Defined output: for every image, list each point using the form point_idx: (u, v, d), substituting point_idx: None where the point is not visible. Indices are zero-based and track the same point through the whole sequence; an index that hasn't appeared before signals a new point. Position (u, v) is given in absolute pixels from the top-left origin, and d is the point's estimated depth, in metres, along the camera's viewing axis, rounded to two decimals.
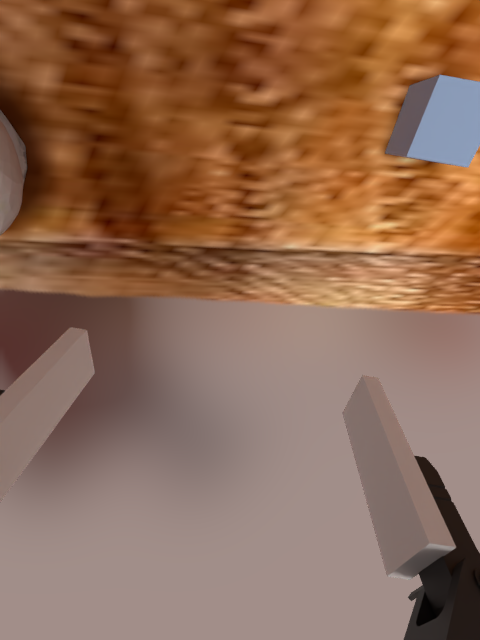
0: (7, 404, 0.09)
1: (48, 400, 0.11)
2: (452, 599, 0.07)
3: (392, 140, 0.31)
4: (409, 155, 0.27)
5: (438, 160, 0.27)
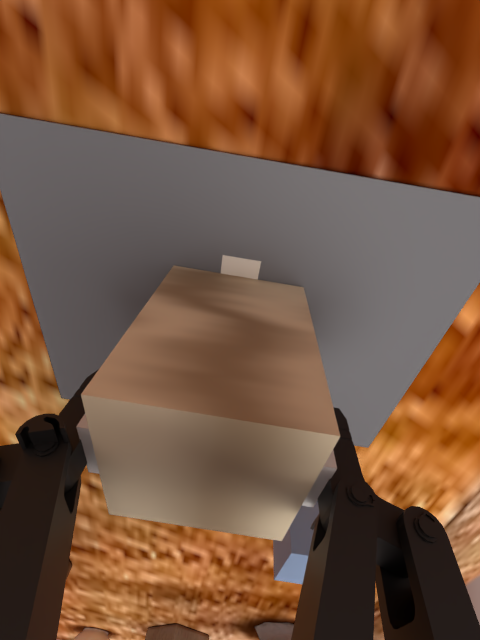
0: None
1: None
2: (331, 518, 0.08)
3: None
4: None
5: None
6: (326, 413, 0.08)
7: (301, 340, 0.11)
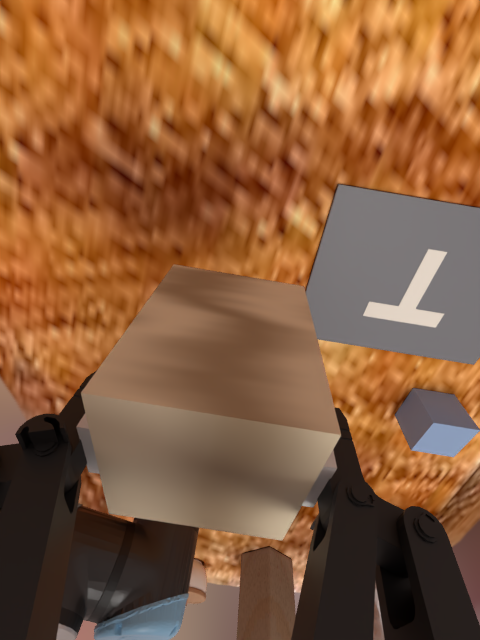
0: None
1: None
2: (332, 518, 0.08)
3: None
4: (453, 455, 0.39)
5: (465, 443, 0.38)
6: (327, 412, 0.08)
7: (301, 339, 0.11)
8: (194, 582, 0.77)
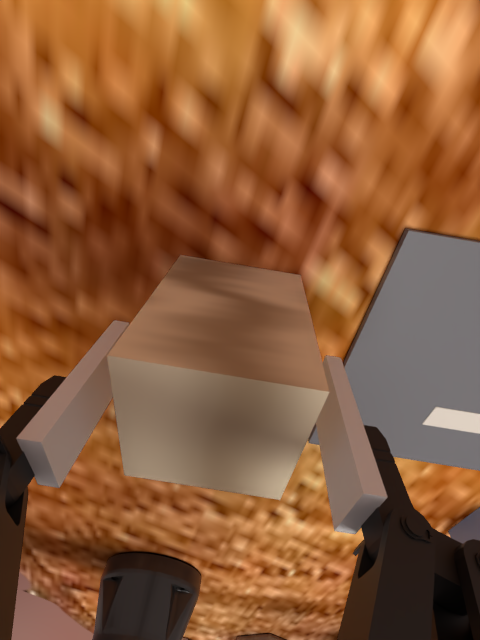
0: (72, 387, 0.10)
1: (101, 386, 0.12)
2: (383, 547, 0.08)
3: None
4: None
5: None
6: (318, 374, 0.09)
7: (297, 318, 0.12)
8: None
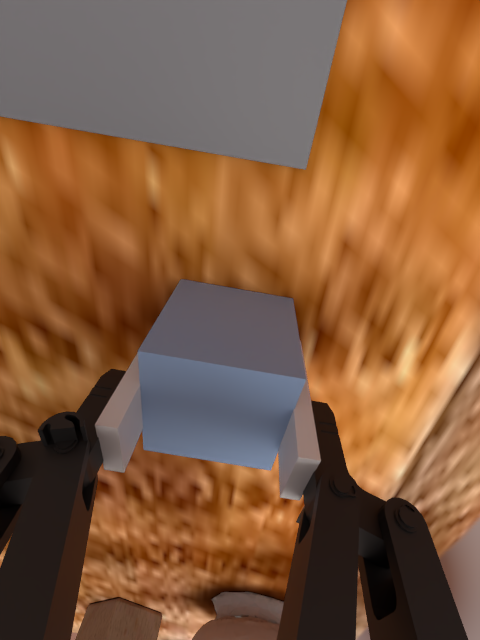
0: (134, 379, 0.11)
1: None
2: (315, 511, 0.08)
3: None
4: (268, 467, 0.13)
5: (282, 429, 0.12)
6: None
7: None
8: None
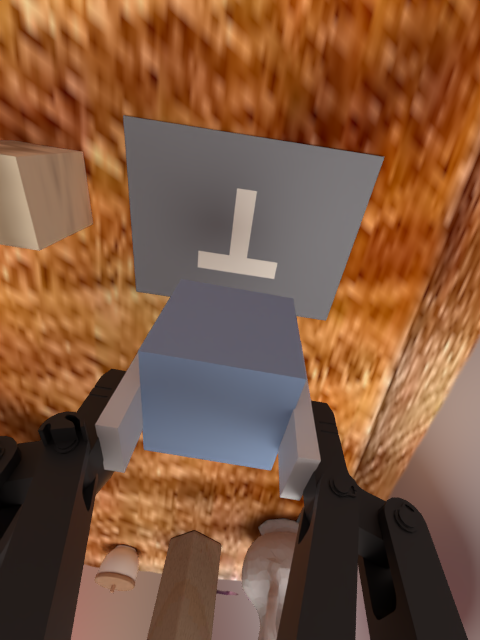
0: (134, 379, 0.11)
1: None
2: (315, 511, 0.08)
3: None
4: (269, 467, 0.13)
5: (283, 429, 0.12)
6: (18, 155, 0.21)
7: (43, 152, 0.24)
8: (121, 568, 0.76)
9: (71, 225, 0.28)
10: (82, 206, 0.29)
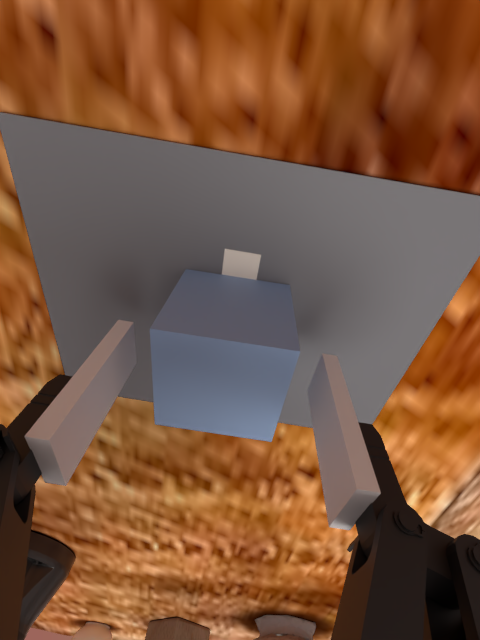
0: (78, 386, 0.10)
1: (106, 385, 0.12)
2: (376, 543, 0.08)
3: None
4: (269, 438, 0.14)
5: (281, 401, 0.13)
6: None
7: None
8: None
9: None
10: None
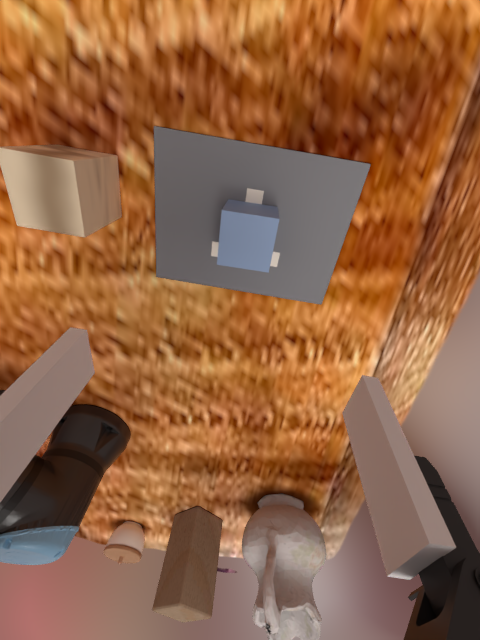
0: (7, 404, 0.09)
1: (48, 400, 0.11)
2: (453, 599, 0.07)
3: None
4: (268, 270, 0.32)
5: (272, 246, 0.31)
6: (74, 159, 0.26)
7: (89, 156, 0.29)
8: (129, 541, 0.81)
9: (106, 217, 0.33)
10: (115, 201, 0.34)
